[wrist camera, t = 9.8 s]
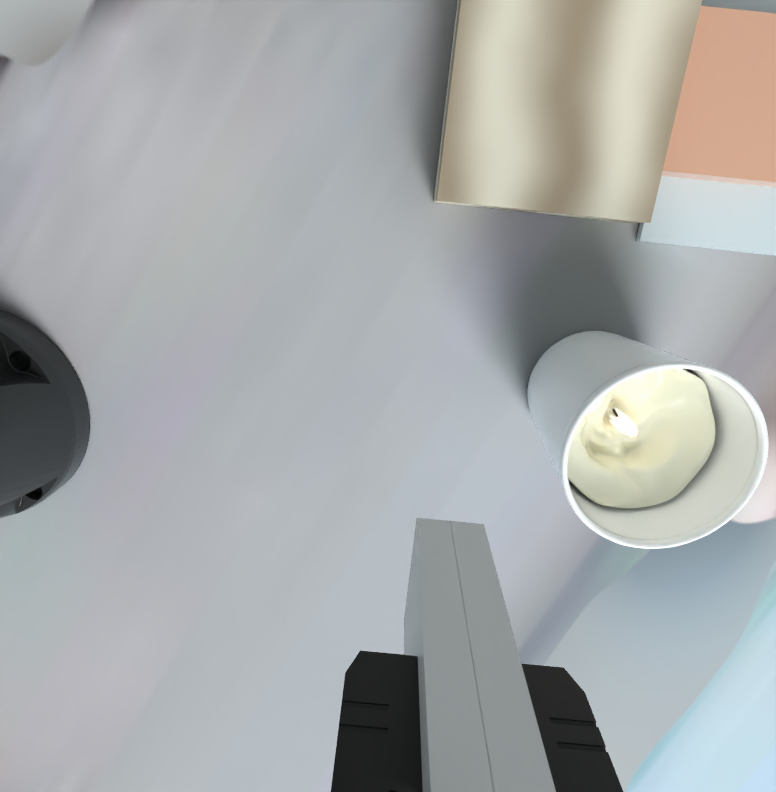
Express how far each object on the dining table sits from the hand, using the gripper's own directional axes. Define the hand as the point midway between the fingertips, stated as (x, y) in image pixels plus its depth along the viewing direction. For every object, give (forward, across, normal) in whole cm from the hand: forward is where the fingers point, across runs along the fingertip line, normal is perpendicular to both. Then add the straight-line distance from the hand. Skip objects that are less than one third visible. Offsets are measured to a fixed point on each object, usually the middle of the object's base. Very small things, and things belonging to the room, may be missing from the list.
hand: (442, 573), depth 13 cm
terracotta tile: (+26, -16, -16) cm, 34 cm away
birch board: (+26, -6, -16) cm, 31 cm away
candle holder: (+26, -12, +2) cm, 29 cm away
